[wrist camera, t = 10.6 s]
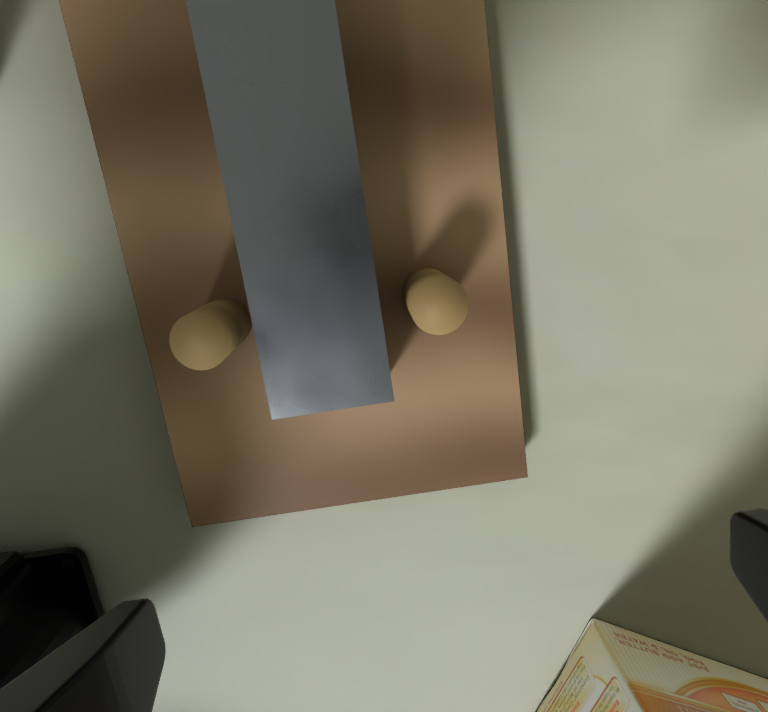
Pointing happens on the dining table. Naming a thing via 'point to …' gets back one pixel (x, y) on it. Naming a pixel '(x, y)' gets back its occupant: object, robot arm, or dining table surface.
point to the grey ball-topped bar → (295, 199)
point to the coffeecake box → (648, 678)
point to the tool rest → (389, 248)
